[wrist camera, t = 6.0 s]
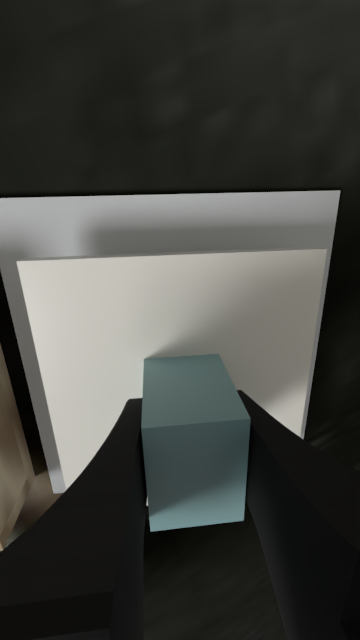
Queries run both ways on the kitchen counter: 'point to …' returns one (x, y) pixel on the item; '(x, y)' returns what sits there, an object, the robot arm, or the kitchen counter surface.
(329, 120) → the kitchen counter surface
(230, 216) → the mat
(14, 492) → the box
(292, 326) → the lid
